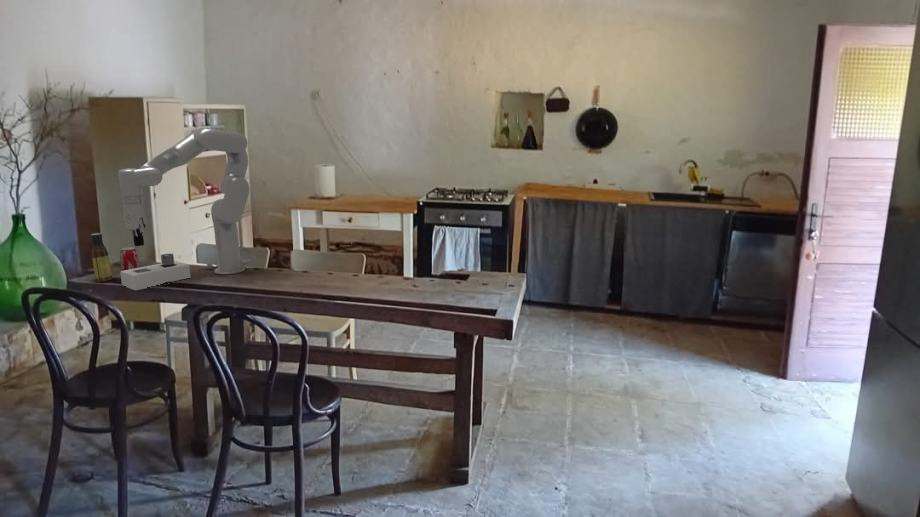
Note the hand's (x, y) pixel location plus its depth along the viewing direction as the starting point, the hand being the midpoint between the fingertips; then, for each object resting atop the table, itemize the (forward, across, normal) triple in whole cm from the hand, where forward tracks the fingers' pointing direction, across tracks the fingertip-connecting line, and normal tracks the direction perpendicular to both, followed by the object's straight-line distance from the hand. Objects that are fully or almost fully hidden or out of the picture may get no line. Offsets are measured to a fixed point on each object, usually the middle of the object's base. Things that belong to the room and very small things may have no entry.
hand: (139, 245), depth 267 cm
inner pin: (+12, 0, +10) cm, 16 cm away
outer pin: (+16, 0, -1) cm, 16 cm away
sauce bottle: (+16, -21, -8) cm, 28 cm away
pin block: (+16, 0, +5) cm, 17 cm away
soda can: (+17, -20, +3) cm, 26 cm away
